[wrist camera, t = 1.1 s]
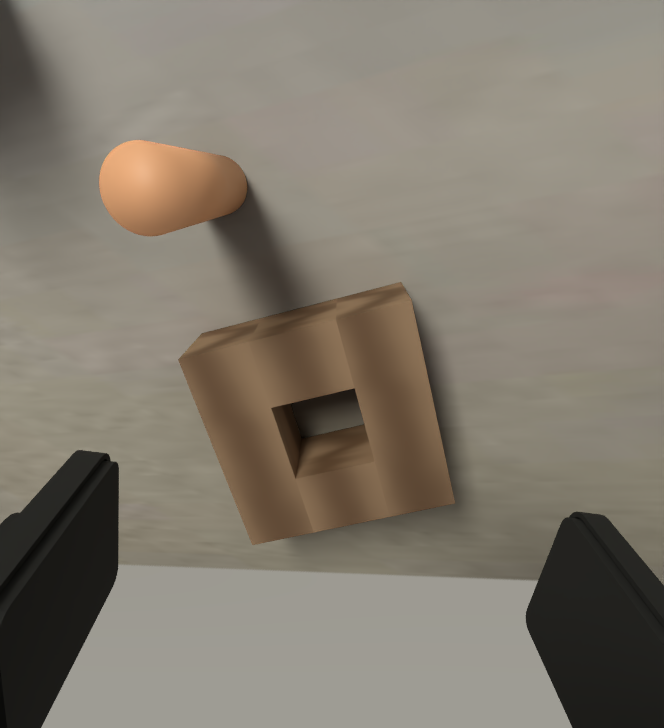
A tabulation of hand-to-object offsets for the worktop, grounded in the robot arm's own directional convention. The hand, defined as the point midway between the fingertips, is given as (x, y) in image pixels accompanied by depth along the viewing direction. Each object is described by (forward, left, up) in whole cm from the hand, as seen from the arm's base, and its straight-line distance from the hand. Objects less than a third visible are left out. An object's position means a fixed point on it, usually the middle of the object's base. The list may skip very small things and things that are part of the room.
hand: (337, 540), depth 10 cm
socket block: (+4, +9, -29) cm, 30 cm away
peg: (+7, -9, -29) cm, 31 cm away
